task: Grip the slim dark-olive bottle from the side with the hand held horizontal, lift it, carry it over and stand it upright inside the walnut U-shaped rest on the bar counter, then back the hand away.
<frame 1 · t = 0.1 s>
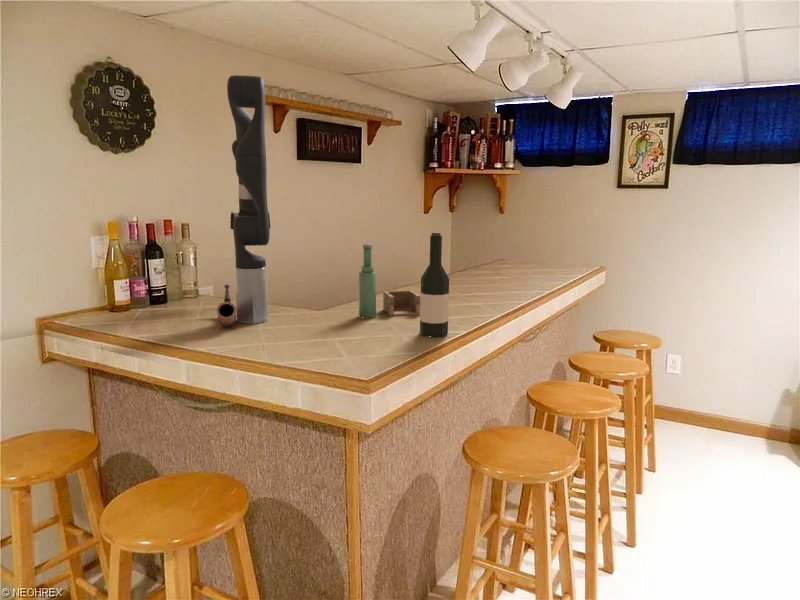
hand: (251, 240, 220), 22 cm above the table, tool pointing down, fingers open, 8 cm apart
wine bottle: (433, 334, 176), on the table
u rest: (401, 312, 205), on the table
slim bottle: (367, 316, 198), on the table
brown tobacco pipe: (227, 323, 187), on the table
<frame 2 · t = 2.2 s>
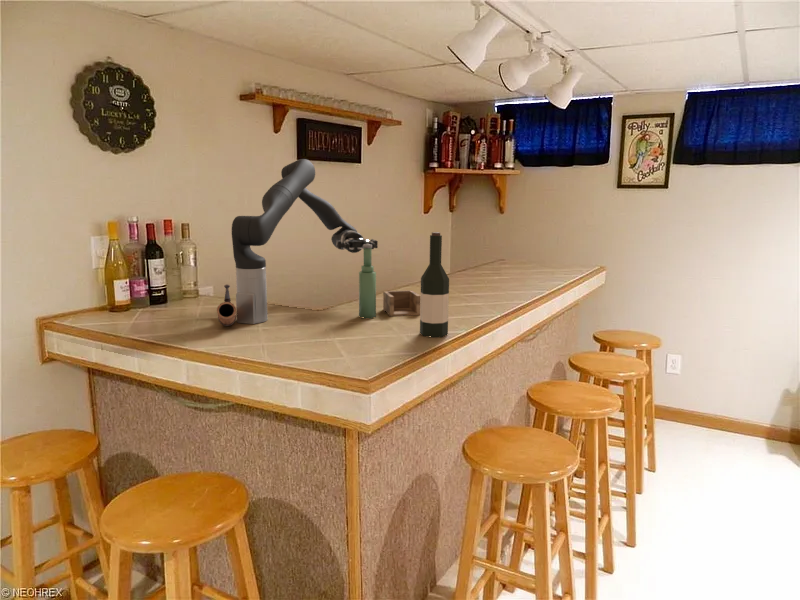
hand: (360, 246, 204), 22 cm above the table, tool horizontal, fingers open, 8 cm apart
nothing on the table moved.
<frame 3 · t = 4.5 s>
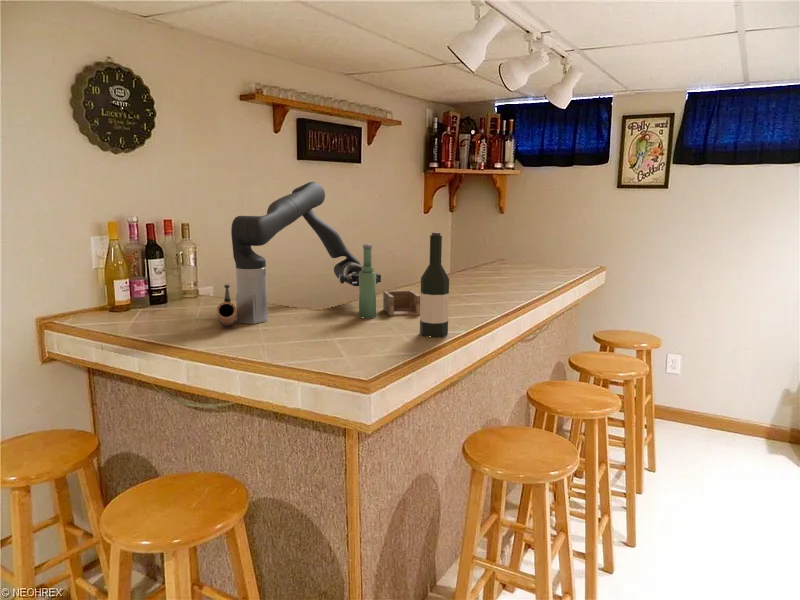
hand: (363, 281, 201), 11 cm above the table, tool horizontal, fingers open, 8 cm apart
nothing on the table moved.
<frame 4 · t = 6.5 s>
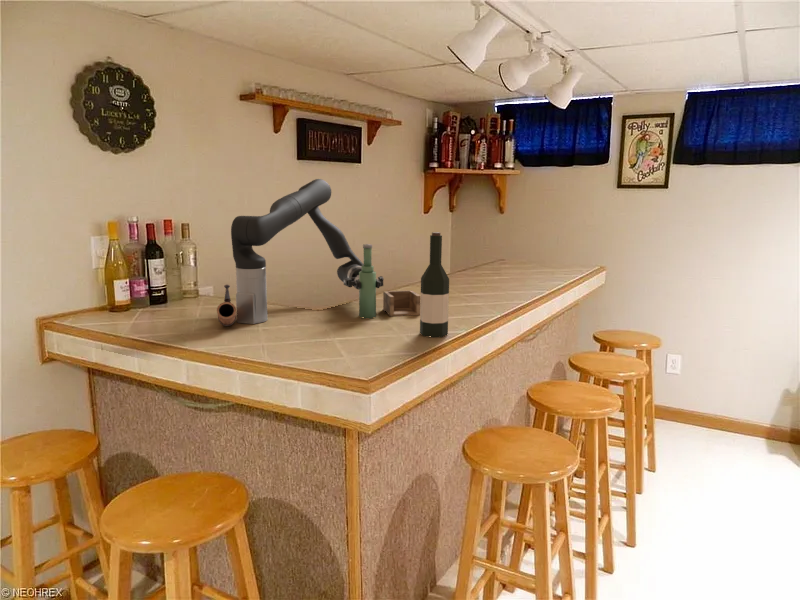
hand: (369, 285, 193), 11 cm above the table, tool horizontal, fingers closed on slim bottle, 5 cm apart
slim bottle: (367, 316, 198), on the table, touching gripper
everything else where it was.
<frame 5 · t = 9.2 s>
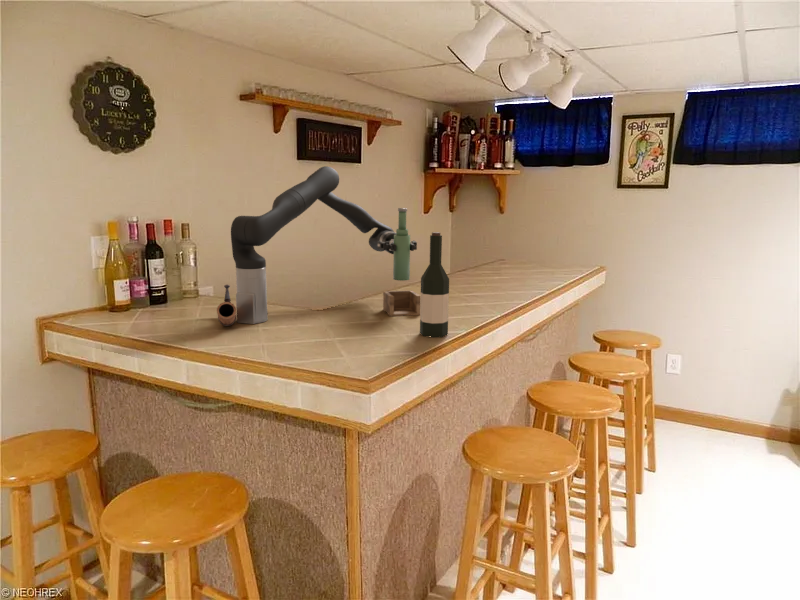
hand: (403, 247, 198), 23 cm above the table, tool horizontal, fingers closed on slim bottle, 5 cm apart
slim bottle: (401, 279, 203), point 12 cm above the table, touching gripper
everything else where it was.
when the fingers open (12 cm above the table, at t = 12.0 s): slim bottle stays where it is, resting on u rest.
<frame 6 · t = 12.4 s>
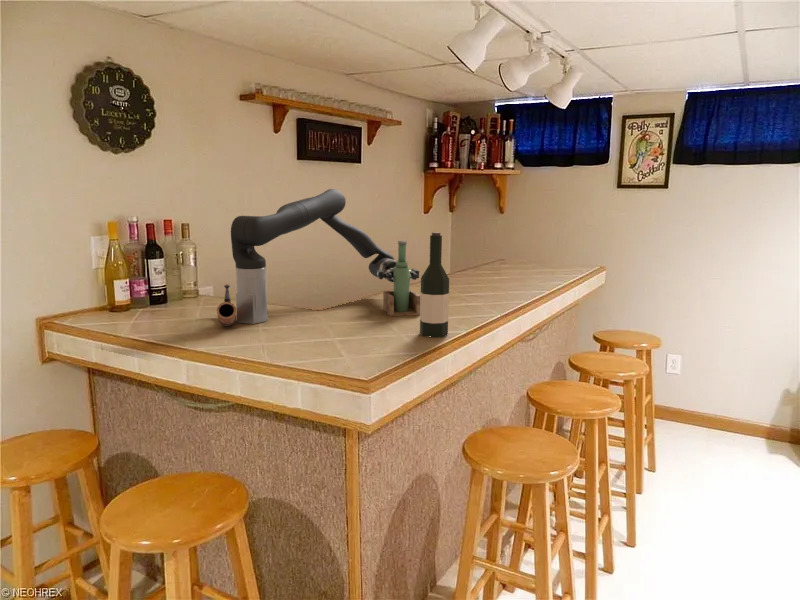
hand: (403, 277, 201), 13 cm above the table, tool horizontal, fingers open, 8 cm apart
slim bottle: (401, 310, 205), point 1 cm above the table, touching u rest
everything else where it was.
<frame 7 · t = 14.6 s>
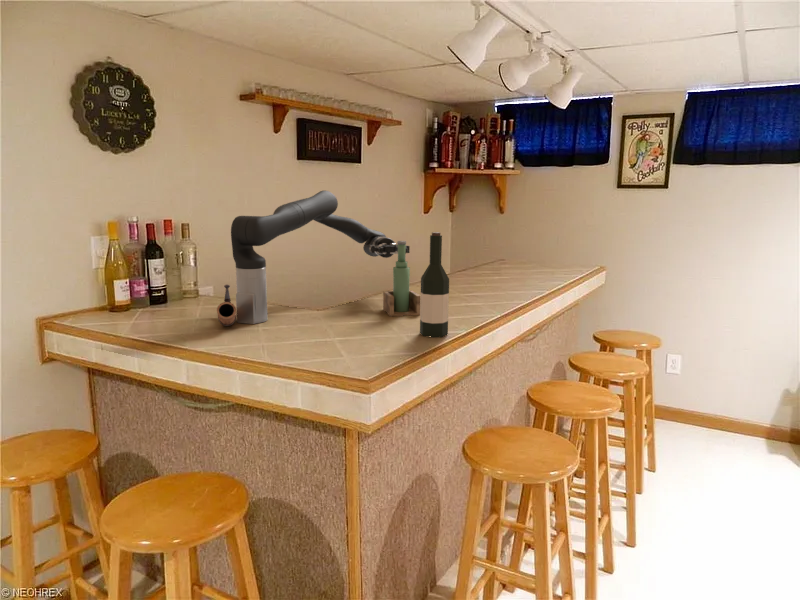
hand: (394, 250, 211), 20 cm above the table, tool horizontal, fingers open, 8 cm apart
nothing on the table moved.
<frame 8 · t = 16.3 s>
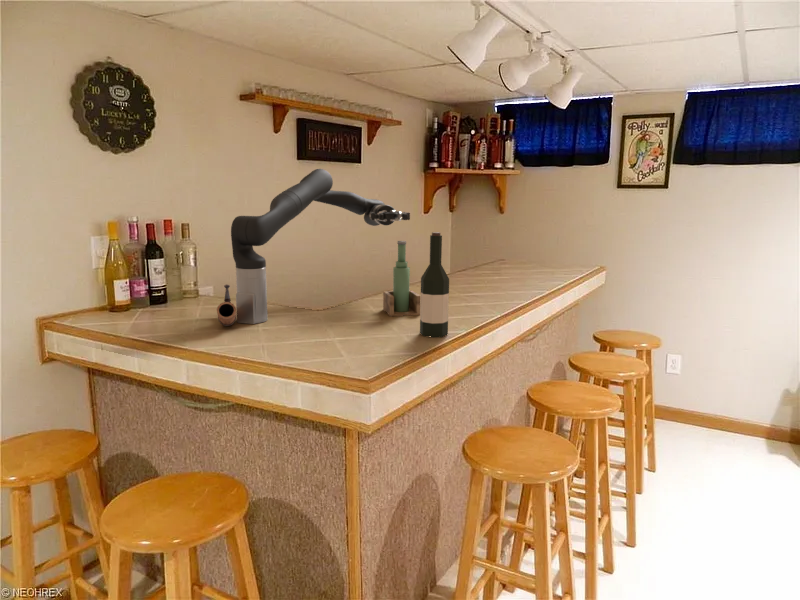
hand: (394, 217, 209), 32 cm above the table, tool horizontal, fingers open, 8 cm apart
nothing on the table moved.
at the end: slim bottle 0.2 cm from the u rest (horizontally); slim bottle tilted 0°; the gripper is holding nothing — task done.
